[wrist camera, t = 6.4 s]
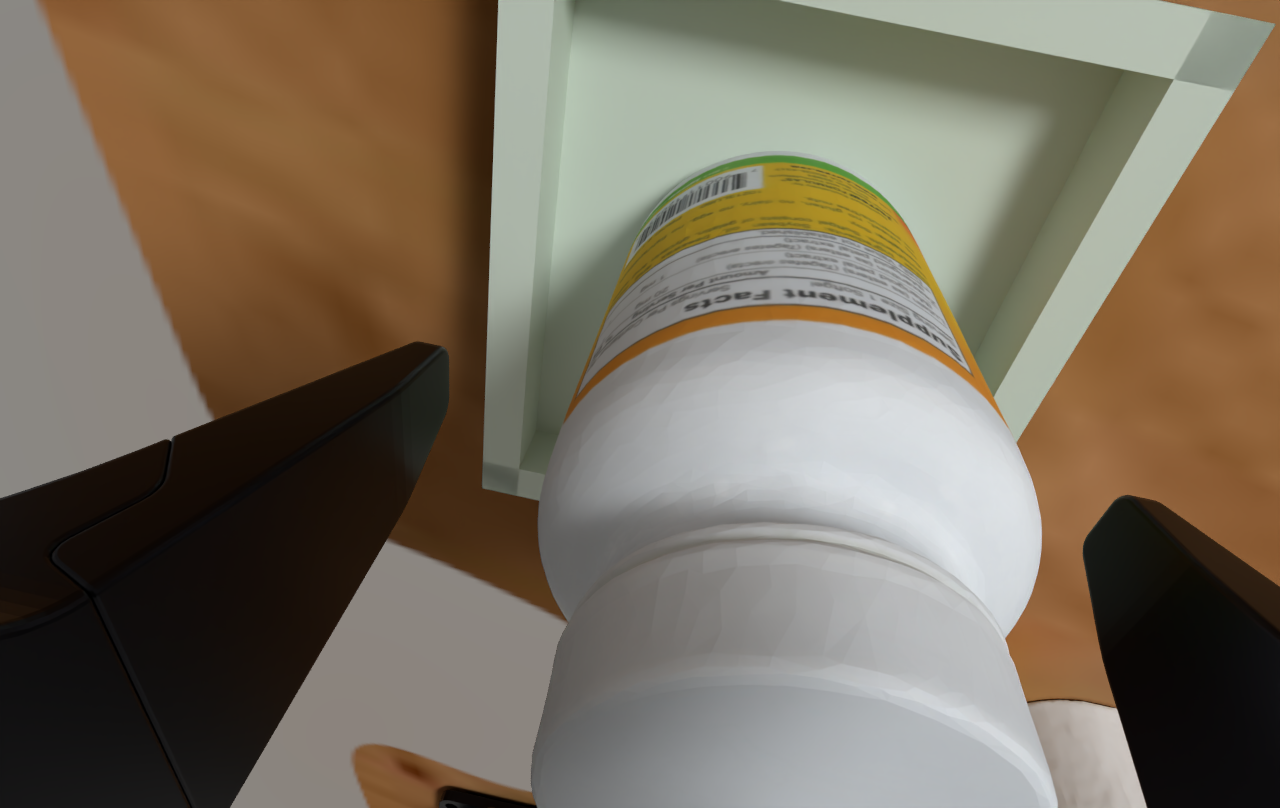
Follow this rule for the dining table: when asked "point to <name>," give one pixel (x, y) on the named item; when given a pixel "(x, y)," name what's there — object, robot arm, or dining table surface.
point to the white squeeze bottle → (1087, 755)
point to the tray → (840, 159)
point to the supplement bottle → (785, 521)
